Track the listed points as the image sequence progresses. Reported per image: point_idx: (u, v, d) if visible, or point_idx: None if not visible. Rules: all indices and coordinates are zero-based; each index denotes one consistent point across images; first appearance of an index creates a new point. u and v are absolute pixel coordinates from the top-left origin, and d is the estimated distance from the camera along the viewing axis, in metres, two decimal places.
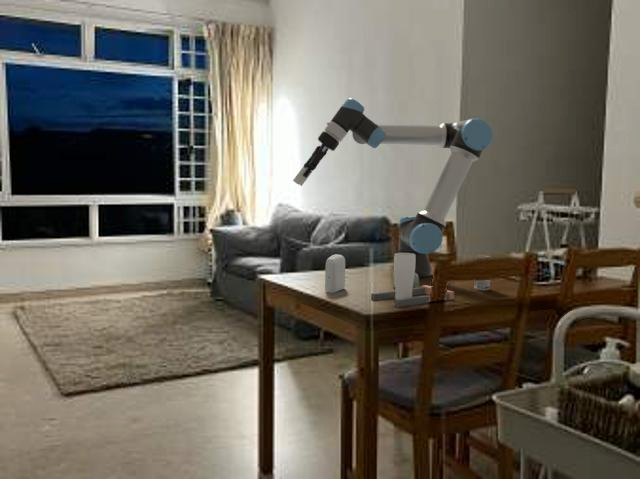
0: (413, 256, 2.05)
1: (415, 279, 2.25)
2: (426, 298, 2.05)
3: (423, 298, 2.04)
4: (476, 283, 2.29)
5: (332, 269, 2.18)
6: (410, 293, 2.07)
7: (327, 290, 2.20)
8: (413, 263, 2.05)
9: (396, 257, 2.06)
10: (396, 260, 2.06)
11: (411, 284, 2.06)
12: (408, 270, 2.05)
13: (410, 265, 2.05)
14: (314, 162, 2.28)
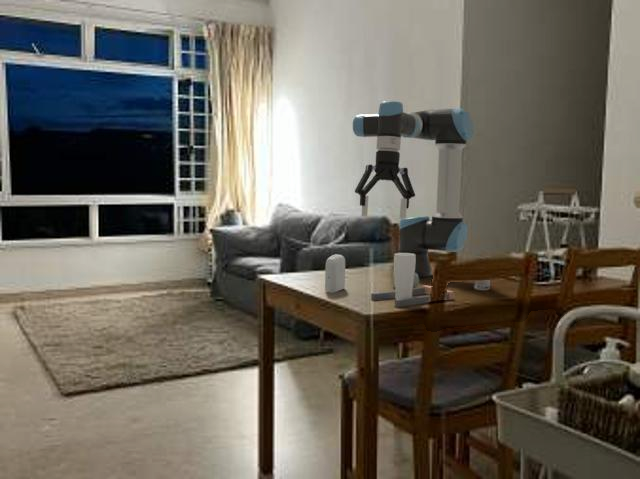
0: (413, 256, 2.05)
1: (415, 279, 2.25)
2: (426, 298, 2.05)
3: (423, 298, 2.04)
4: (476, 283, 2.29)
5: (332, 269, 2.18)
6: (410, 293, 2.07)
7: (327, 290, 2.20)
8: (413, 263, 2.05)
9: (396, 257, 2.06)
10: (396, 260, 2.06)
11: (411, 284, 2.06)
12: (408, 270, 2.05)
13: (410, 265, 2.05)
14: None
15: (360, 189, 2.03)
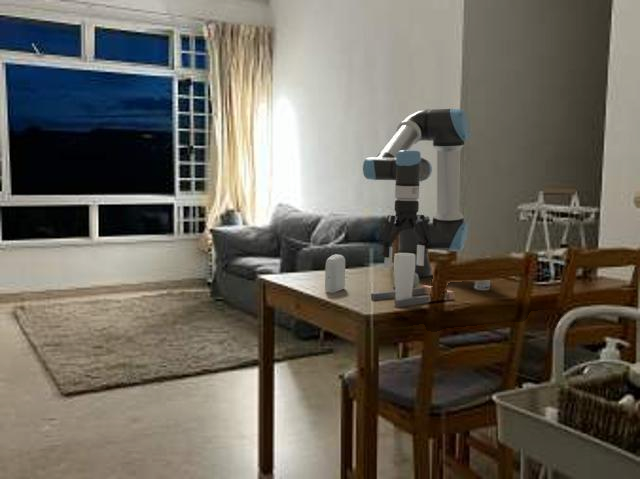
0: (413, 256, 2.05)
1: (415, 279, 2.25)
2: (426, 298, 2.05)
3: (423, 298, 2.04)
4: (476, 283, 2.29)
5: (332, 269, 2.18)
6: (410, 293, 2.07)
7: (327, 290, 2.20)
8: (413, 263, 2.05)
9: (396, 257, 2.06)
10: (396, 260, 2.06)
11: (411, 284, 2.06)
12: (408, 270, 2.05)
13: (410, 265, 2.05)
14: None
15: (385, 241, 2.00)
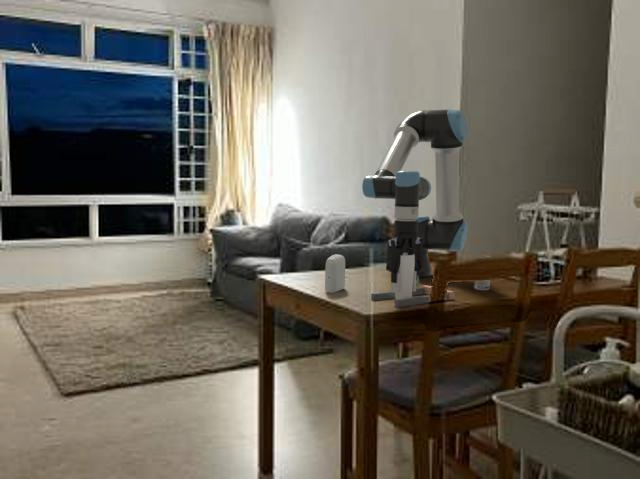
0: (412, 256, 2.05)
1: None
2: (426, 298, 2.05)
3: (423, 298, 2.04)
4: (476, 283, 2.29)
5: (332, 269, 2.18)
6: (410, 293, 2.07)
7: (327, 290, 2.20)
8: (412, 263, 2.05)
9: None
10: None
11: (411, 284, 2.06)
12: (407, 270, 2.05)
13: (409, 265, 2.04)
14: None
15: (392, 267, 2.03)
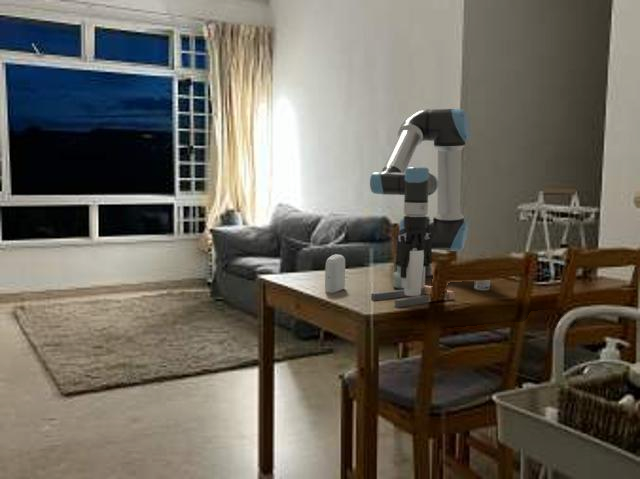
0: (421, 251, 2.07)
1: None
2: (426, 298, 2.05)
3: (423, 298, 2.04)
4: (476, 283, 2.29)
5: (332, 269, 2.18)
6: (419, 288, 2.09)
7: (327, 290, 2.20)
8: (421, 258, 2.07)
9: None
10: None
11: (420, 279, 2.09)
12: (417, 265, 2.07)
13: (418, 260, 2.07)
14: None
15: (402, 262, 2.05)
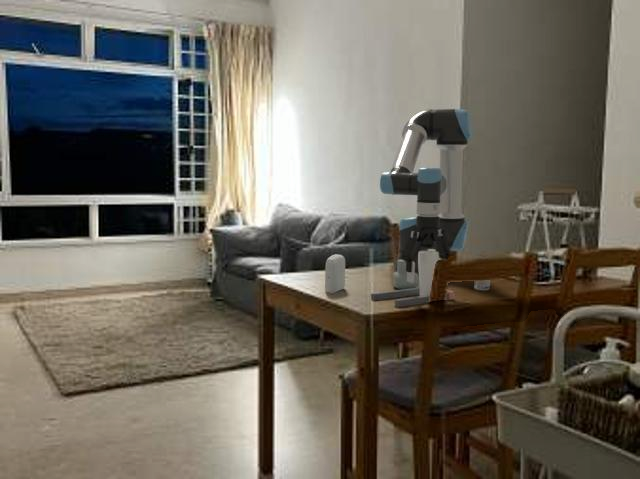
0: (437, 254, 2.11)
1: (415, 279, 2.25)
2: (426, 298, 2.05)
3: (423, 298, 2.04)
4: (476, 283, 2.29)
5: (332, 269, 2.18)
6: None
7: (327, 290, 2.20)
8: (437, 260, 2.12)
9: (420, 255, 2.12)
10: (420, 258, 2.12)
11: None
12: (432, 267, 2.11)
13: (433, 262, 2.11)
14: None
15: (408, 257, 2.06)
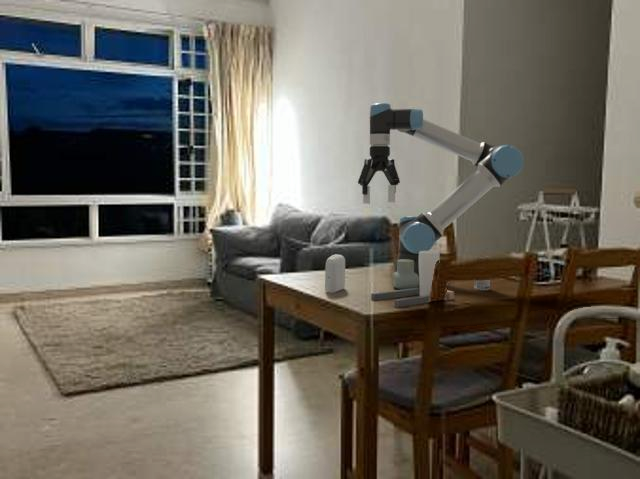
0: (437, 254, 2.12)
1: (415, 279, 2.25)
2: (426, 298, 2.05)
3: (423, 298, 2.04)
4: (476, 283, 2.29)
5: (332, 269, 2.18)
6: None
7: (327, 290, 2.20)
8: None
9: (421, 255, 2.12)
10: (421, 258, 2.12)
11: None
12: (432, 267, 2.11)
13: (434, 262, 2.11)
14: None
15: (364, 180, 2.36)
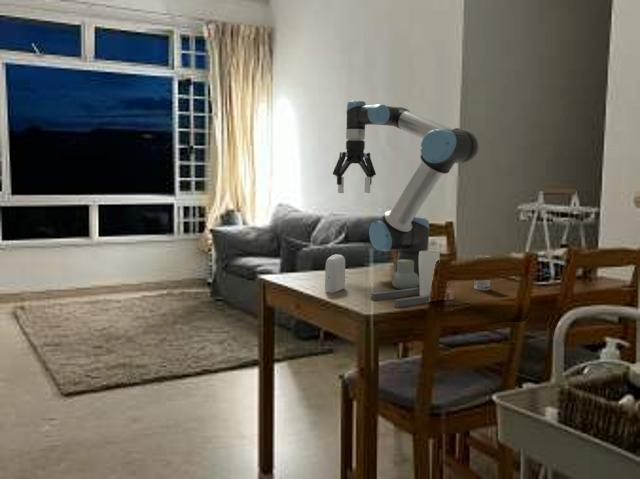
0: (437, 254, 2.12)
1: (415, 279, 2.25)
2: (426, 298, 2.05)
3: (423, 298, 2.04)
4: (476, 283, 2.29)
5: (332, 269, 2.18)
6: None
7: (327, 290, 2.20)
8: None
9: (421, 255, 2.12)
10: (421, 258, 2.12)
11: None
12: (432, 267, 2.11)
13: (434, 262, 2.11)
14: None
15: (338, 172, 2.57)
